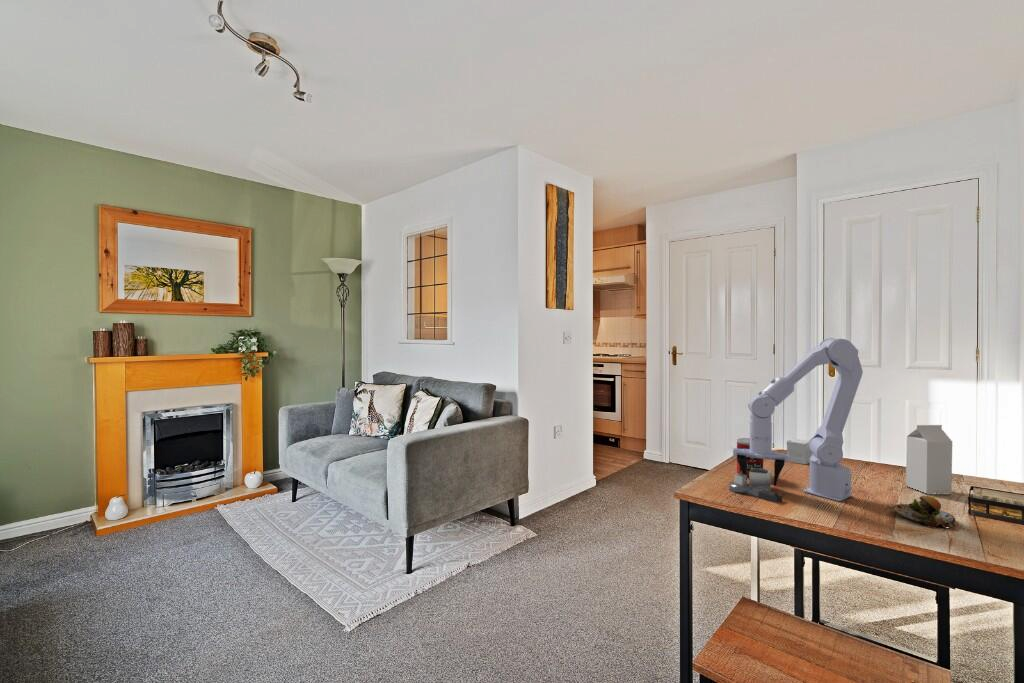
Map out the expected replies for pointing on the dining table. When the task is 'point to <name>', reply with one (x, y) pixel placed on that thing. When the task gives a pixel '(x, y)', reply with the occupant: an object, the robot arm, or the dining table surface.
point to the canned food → (751, 462)
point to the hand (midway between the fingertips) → (760, 482)
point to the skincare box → (798, 451)
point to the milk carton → (929, 460)
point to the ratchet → (752, 489)
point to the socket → (760, 478)
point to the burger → (926, 512)
